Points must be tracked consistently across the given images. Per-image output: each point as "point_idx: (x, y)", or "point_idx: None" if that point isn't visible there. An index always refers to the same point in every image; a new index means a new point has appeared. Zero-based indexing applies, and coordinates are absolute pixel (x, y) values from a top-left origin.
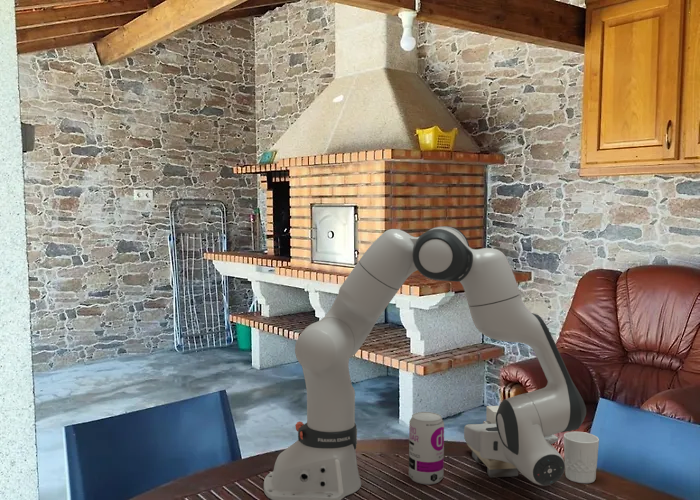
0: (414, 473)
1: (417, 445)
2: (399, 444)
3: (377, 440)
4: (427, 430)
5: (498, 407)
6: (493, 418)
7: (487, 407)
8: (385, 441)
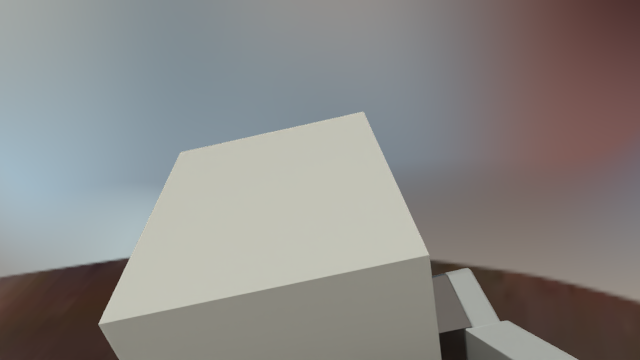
0: None
1: None
2: (48, 300)
3: (2, 281)
4: None
5: (299, 153)
6: None
7: (175, 171)
8: (21, 284)
